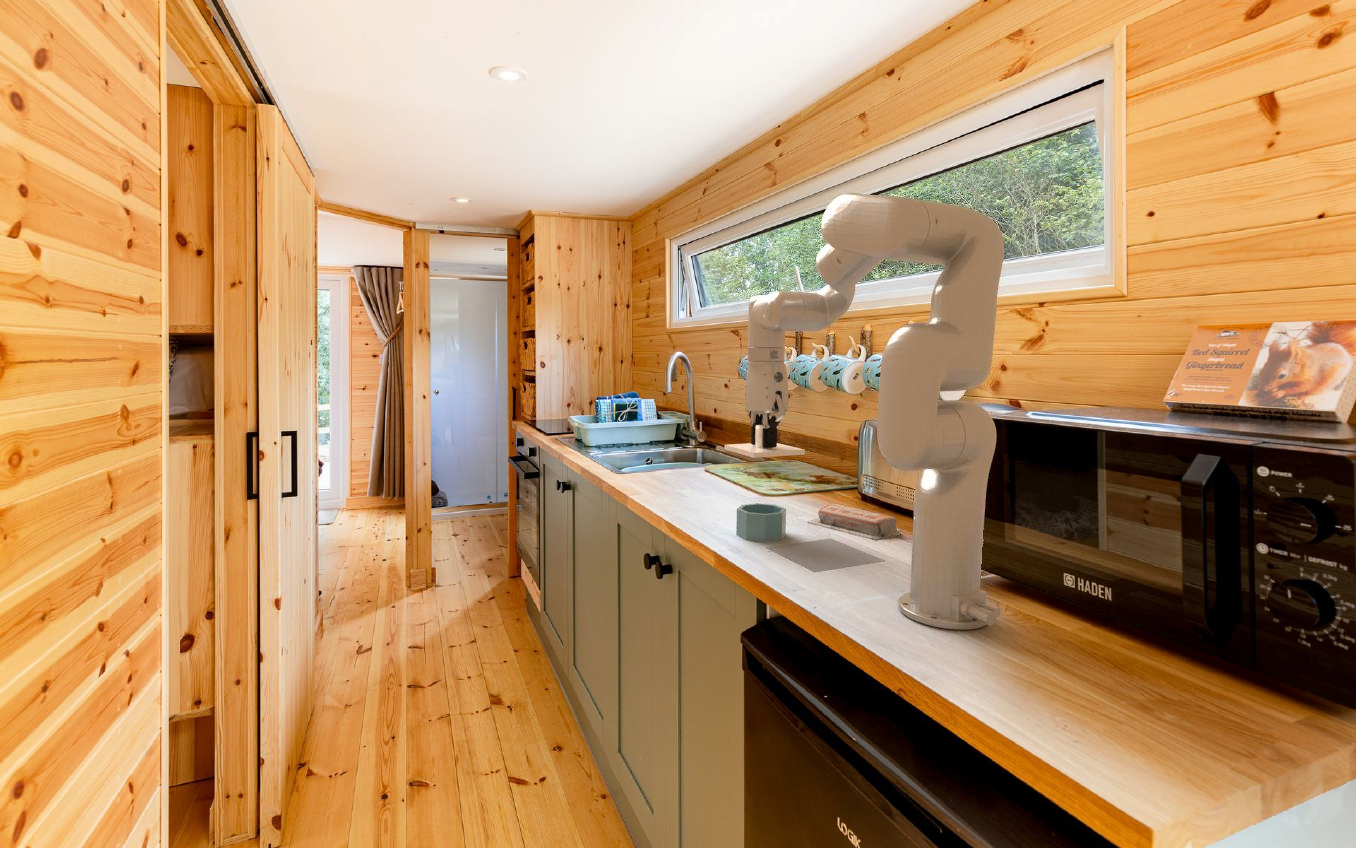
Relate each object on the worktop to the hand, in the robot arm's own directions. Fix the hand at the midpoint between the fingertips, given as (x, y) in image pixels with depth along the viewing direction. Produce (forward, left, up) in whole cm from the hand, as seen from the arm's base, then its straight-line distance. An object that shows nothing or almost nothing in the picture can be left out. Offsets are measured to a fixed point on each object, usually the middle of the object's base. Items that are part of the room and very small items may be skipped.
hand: (763, 445), depth 134 cm
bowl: (0, 0, -20) cm, 20 cm away
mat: (-16, -4, -20) cm, 25 cm away
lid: (0, 0, -1) cm, 1 cm away
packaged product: (-3, -22, -20) cm, 30 cm away
